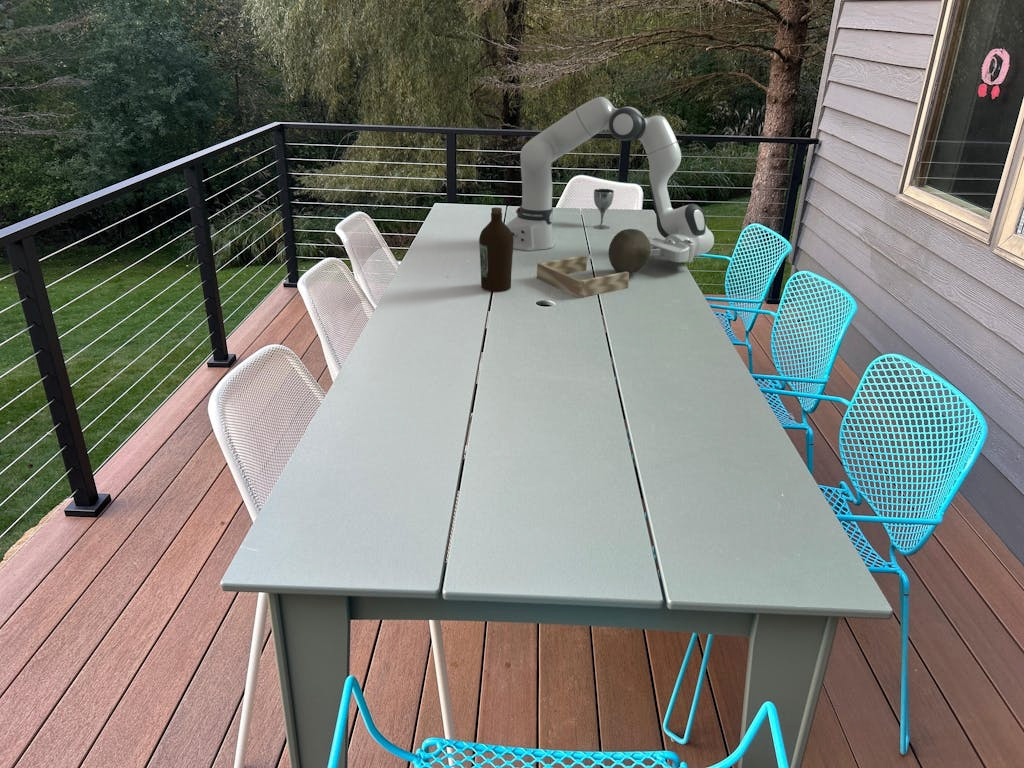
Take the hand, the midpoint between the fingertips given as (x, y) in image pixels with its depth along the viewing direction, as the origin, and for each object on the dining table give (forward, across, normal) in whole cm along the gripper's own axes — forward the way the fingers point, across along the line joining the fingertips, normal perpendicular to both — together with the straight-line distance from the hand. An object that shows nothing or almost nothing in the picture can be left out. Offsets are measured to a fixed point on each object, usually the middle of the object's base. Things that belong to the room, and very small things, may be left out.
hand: (645, 252), depth 259 cm
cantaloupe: (+7, 0, +7) cm, 10 cm away
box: (+26, 0, +6) cm, 27 cm away
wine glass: (-26, -55, +7) cm, 61 cm away
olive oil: (+54, -10, +7) cm, 55 cm away
